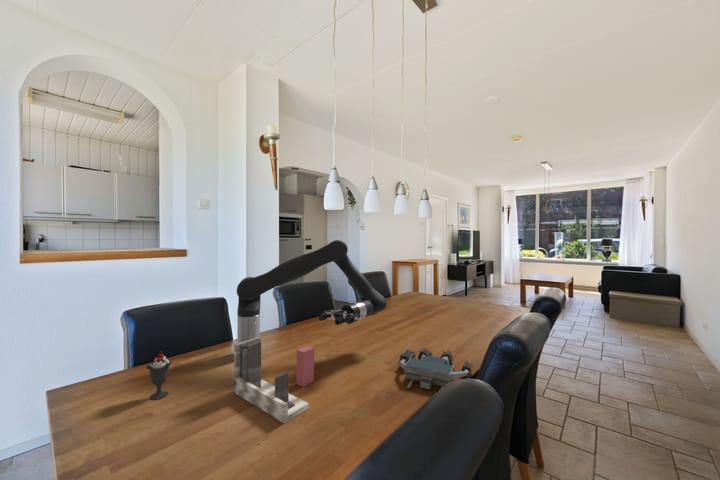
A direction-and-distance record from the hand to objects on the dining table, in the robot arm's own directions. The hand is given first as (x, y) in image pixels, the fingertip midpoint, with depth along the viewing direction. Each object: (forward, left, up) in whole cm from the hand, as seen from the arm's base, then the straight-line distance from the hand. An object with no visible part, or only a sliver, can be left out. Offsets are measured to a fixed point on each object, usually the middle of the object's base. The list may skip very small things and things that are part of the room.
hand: (327, 320), depth 114 cm
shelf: (+4, -25, -20) cm, 32 cm away
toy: (+29, +29, -20) cm, 46 cm away
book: (+2, -11, -20) cm, 23 cm away
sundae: (-21, -51, -20) cm, 59 cm away
